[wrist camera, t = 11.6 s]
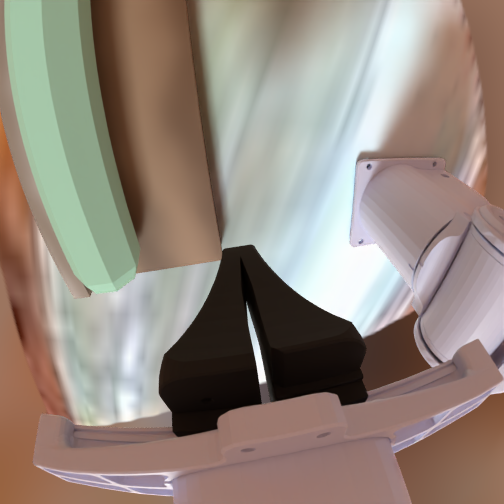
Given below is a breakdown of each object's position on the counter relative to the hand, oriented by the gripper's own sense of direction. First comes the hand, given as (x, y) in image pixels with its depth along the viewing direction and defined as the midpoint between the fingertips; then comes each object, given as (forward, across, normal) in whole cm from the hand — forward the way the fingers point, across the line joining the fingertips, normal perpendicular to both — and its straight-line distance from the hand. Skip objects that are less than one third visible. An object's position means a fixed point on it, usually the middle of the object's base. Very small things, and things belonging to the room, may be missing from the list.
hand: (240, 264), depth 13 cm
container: (+8, +9, -9) cm, 14 cm away
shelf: (+9, +7, -9) cm, 15 cm away
